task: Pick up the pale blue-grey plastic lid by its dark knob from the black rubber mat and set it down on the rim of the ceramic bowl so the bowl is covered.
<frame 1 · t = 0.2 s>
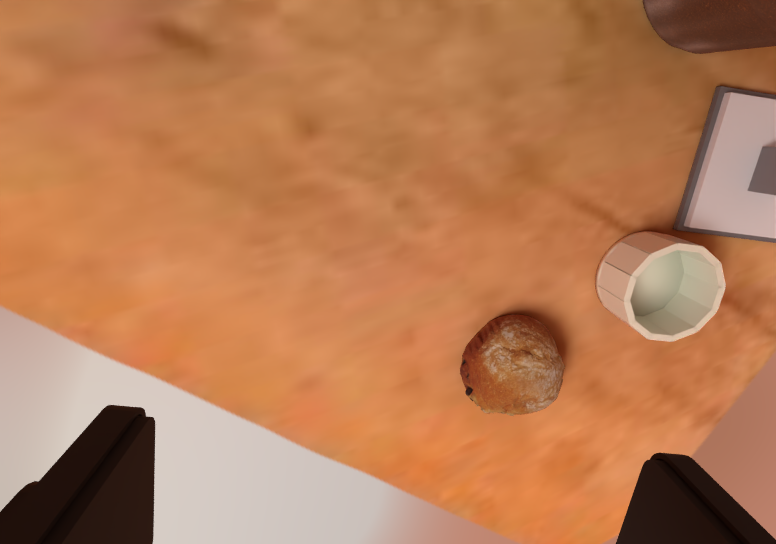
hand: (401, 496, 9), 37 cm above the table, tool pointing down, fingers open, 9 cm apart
lid: (762, 170, 45), point 1 cm above the table, touching mat
bowl: (639, 275, 48), on the table
mat: (757, 169, 46), on the table
bread roll: (505, 359, 50), on the table
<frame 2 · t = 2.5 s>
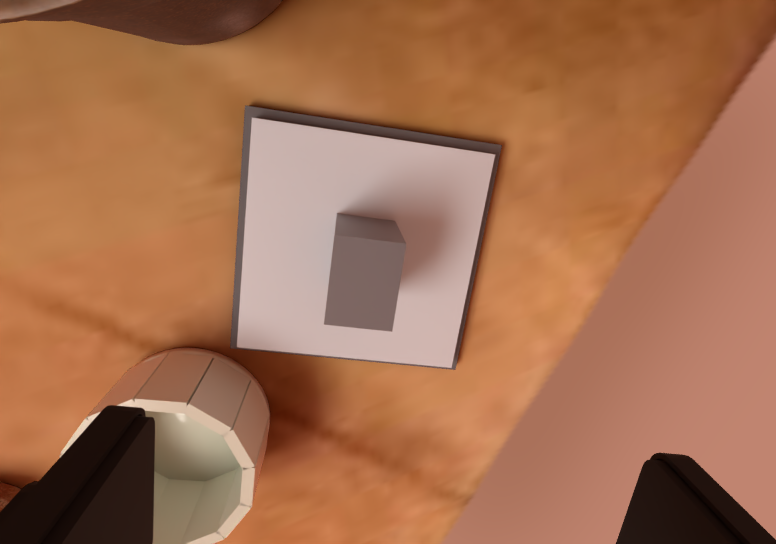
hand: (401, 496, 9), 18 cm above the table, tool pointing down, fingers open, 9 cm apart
lid: (360, 250, 26), point 1 cm above the table, touching mat
bowl: (193, 416, 29), on the table
mat: (360, 248, 27), on the table
bread roll: (1, 542, 31), on the table
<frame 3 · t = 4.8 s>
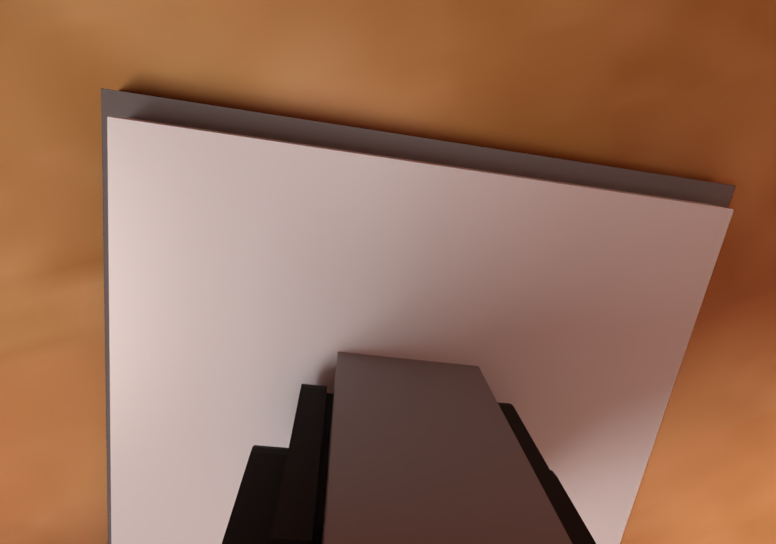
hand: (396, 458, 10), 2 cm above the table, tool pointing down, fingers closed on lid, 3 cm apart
lid: (392, 420, 11), point 1 cm above the table, touching gripper
mat: (391, 407, 12), on the table
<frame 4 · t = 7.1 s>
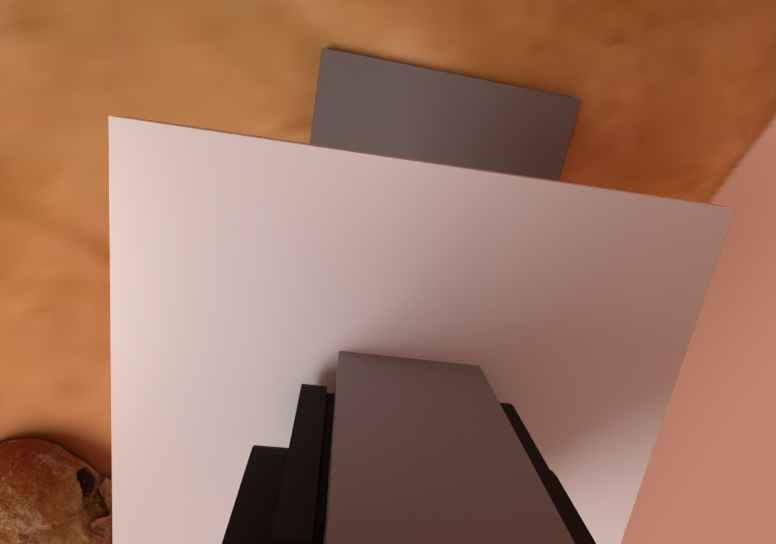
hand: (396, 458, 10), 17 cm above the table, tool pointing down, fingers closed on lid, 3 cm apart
lid: (393, 419, 11), point 16 cm above the table, touching gripper
mat: (427, 203, 26), on the table
bread roll: (39, 504, 30), on the table
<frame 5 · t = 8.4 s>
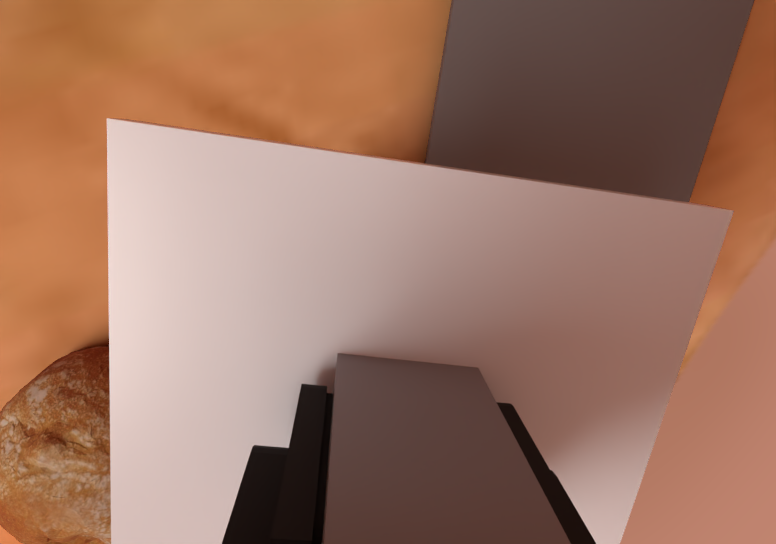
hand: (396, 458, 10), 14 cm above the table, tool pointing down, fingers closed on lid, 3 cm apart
lid: (391, 421, 11), point 13 cm above the table, touching gripper
mat: (591, 39, 22), on the table
bread roll: (121, 429, 26), on the table
when the fingers open (8 cm above the table, at t = 9.6 s): lid drops 1 cm, resting on bowl.
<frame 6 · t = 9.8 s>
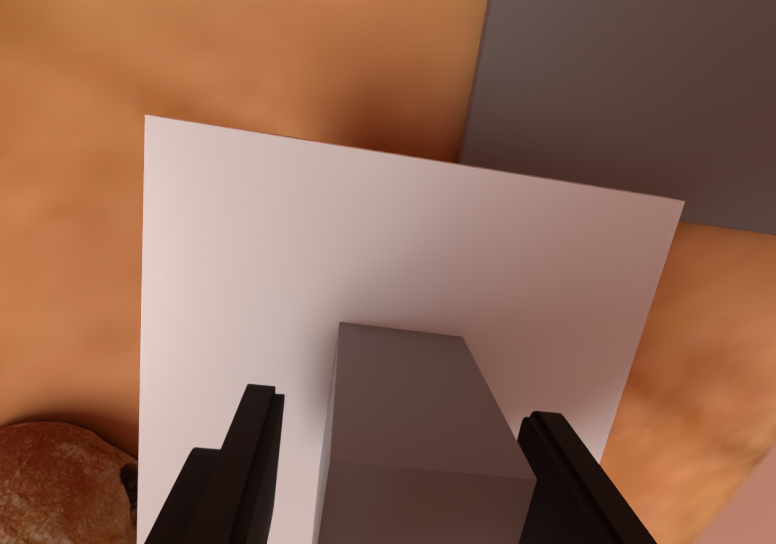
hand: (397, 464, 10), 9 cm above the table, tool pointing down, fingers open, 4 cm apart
lid: (386, 386, 13), point 5 cm above the table, touching bowl
mat: (681, 18, 16), on the table
bread roll: (62, 520, 20), on the table
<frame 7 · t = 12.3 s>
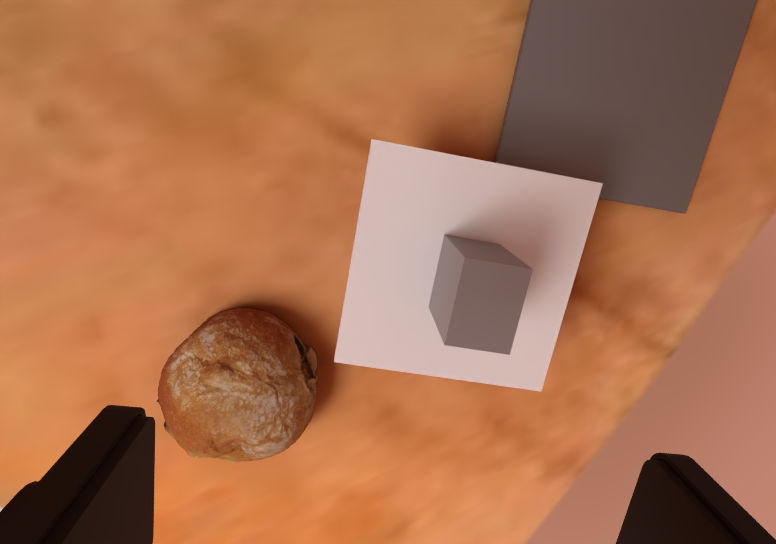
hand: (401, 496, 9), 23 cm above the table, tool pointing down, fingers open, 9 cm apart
lid: (460, 271, 26), point 5 cm above the table, touching bowl
mat: (616, 90, 30), on the table
bread roll: (245, 375, 34), on the table
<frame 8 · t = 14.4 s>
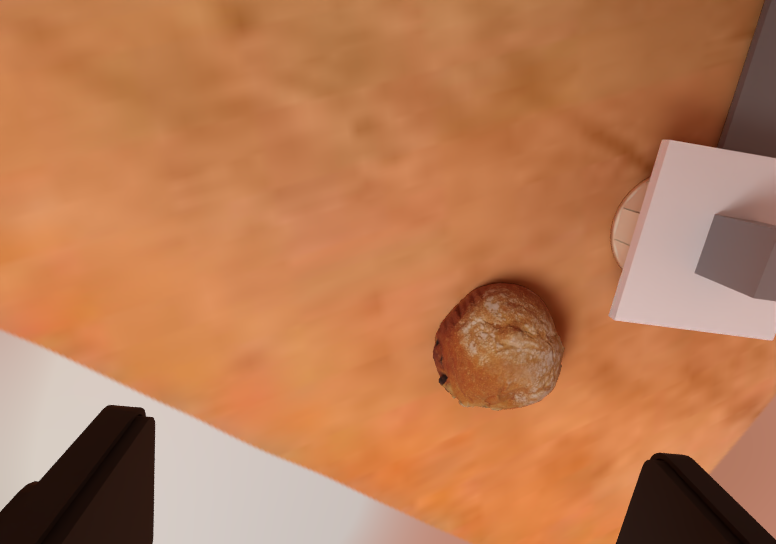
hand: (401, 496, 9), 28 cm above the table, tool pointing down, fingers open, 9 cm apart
lid: (716, 244, 33), point 5 cm above the table, touching bowl
bowl: (666, 229, 38), on the table
bread roll: (489, 340, 40), on the table
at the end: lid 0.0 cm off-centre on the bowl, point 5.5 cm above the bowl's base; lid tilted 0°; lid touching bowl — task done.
